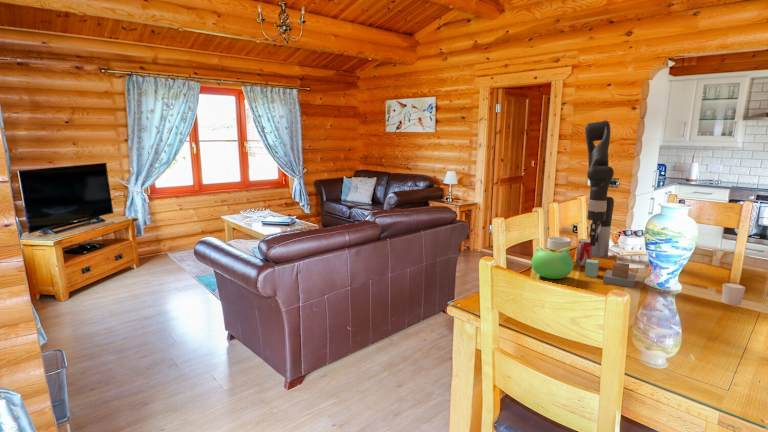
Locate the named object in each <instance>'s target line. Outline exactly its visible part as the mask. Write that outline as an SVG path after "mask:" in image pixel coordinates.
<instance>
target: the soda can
mask: <svg viewBox="0 0 768 432" xmlns="http://www.w3.org/2000/svg"><path fill="white" fill-rule="evenodd" d="M576 245H577V246H576V255H575V257H576V258H575V264H576V265H577V266H580V267H583V268H585V265H586V261H587V259H591V260H593V259H592V258H593V256H592V248H593V246H590V239H587V238H586V239H585V238H579V239H578V242H577V244H576Z"/></svg>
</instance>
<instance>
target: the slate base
mask: <svg viewBox="0 0 768 432" xmlns="http://www.w3.org/2000/svg"><path fill="white" fill-rule="evenodd" d="M636 281H637V273H631V272H629V273H628V277H627V278H623V277H616V276H612V269H606V270H605V272H604V274H603V279H602V283H603V284H608V285H615V286H620V287H626V288H631V289H634V288H635V285H636Z"/></svg>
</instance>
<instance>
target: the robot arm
mask: <svg viewBox="0 0 768 432" xmlns="http://www.w3.org/2000/svg"><path fill="white" fill-rule="evenodd" d="M584 128H585V132H584V133H585V141H586V149H587V154H588V155H587V156H588V160H587V161H588V170H587V174H586V176H587V177H586V178H587V179H588V181H589V182H590V183H589V186H590V187H589V189H590V190H589V200H588V207H587V215H586V216H587V217H586V219H587V220H590V221H592V222H591V223H590V226H589V227H590V229H589V235H588V236H589V238H590V239H589V240H590V246H593V248H592V258H593V257H594V258H598V259H599V258H608V257H609V249H610V237H611V229H612V228H611V227H612V221H613V213H614V212H613V211H614V207H615V206H614V205H615V200H614V198H613V196H608V192H609V187H610V184H611V182H612V180H613V177H614V173H615V172H614V169H613V168H612V166H609V147H610V142H611V124H610V122H609V121H607V120H604V121H603V120H602V121H597V122H596V121H595V122H589V123H587V124H586V125H585V127H584ZM599 141H600V142H599ZM595 142H599V143H598V144H597V145H595Z"/></svg>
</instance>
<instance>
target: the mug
mask: <svg viewBox="0 0 768 432" xmlns="http://www.w3.org/2000/svg"><path fill="white" fill-rule="evenodd" d="M571 244H572V239H571V238H568V237H563V236H550V237H549V236H548V239H547V245H546V246H547V247H546V248H553V249H563V248H567V247H572V246H571ZM570 253H571V250H569V251H568V252H567V254H569V255H570Z"/></svg>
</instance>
